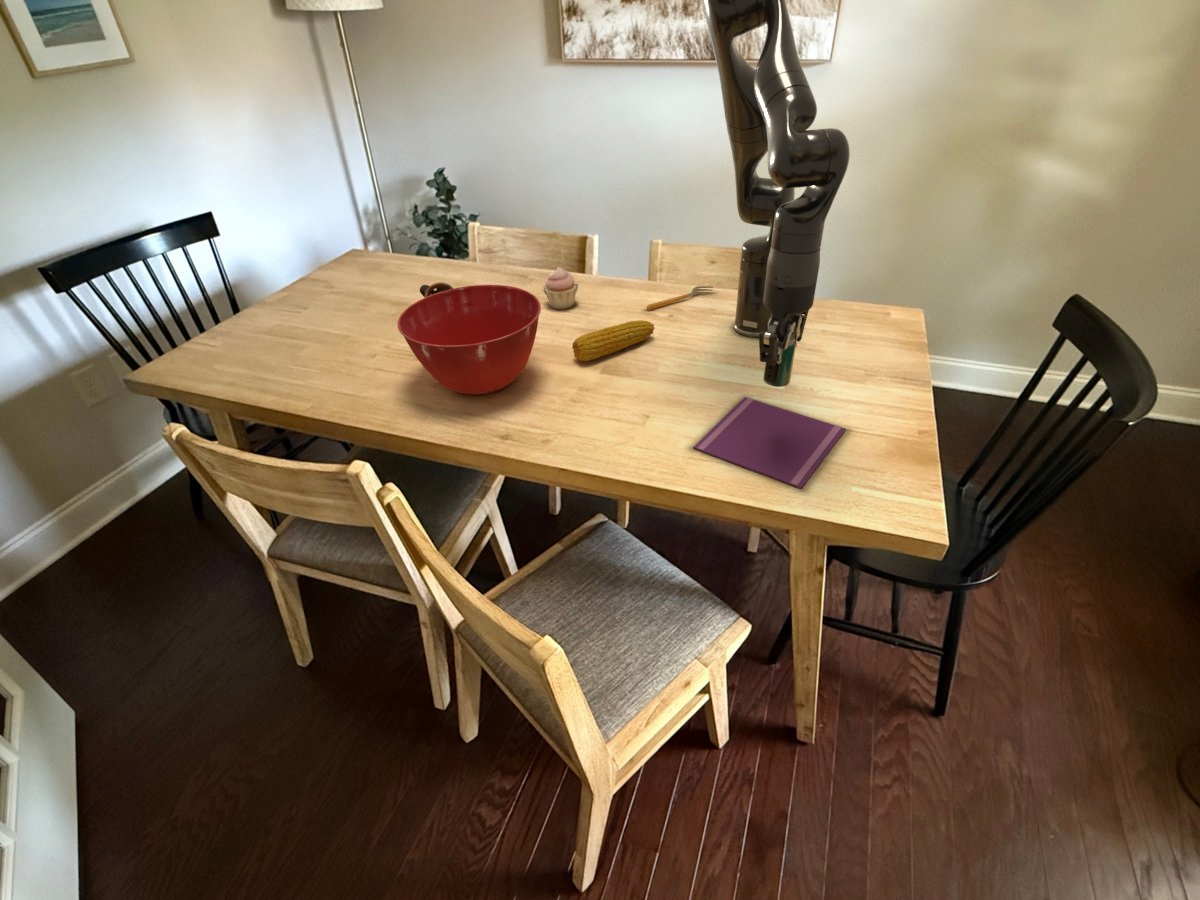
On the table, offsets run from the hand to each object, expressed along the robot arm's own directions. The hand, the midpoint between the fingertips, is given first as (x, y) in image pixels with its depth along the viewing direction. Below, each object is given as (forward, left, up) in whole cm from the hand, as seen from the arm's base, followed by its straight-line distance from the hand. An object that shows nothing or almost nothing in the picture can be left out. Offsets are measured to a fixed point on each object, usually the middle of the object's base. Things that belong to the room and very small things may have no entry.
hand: (777, 374), depth 107 cm
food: (-13, -43, -13) cm, 47 cm away
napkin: (0, 0, -13) cm, 13 cm away
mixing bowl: (+13, -60, -13) cm, 62 cm away
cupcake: (-26, -70, -13) cm, 76 cm away
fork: (-44, -45, -13) cm, 64 cm away
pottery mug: (-7, -95, -13) cm, 96 cm away
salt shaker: (0, 0, -1) cm, 1 cm away
